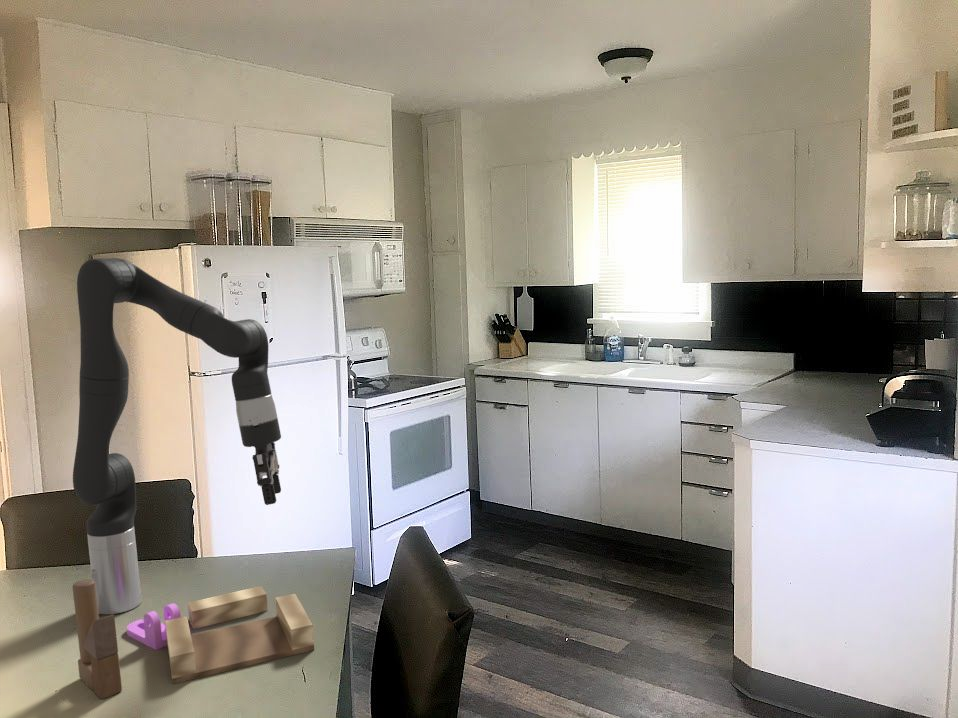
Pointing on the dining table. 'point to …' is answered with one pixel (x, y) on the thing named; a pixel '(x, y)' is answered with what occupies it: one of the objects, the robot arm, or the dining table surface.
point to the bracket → (153, 627)
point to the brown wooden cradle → (238, 642)
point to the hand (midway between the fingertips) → (273, 498)
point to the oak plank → (227, 607)
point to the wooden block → (96, 642)
